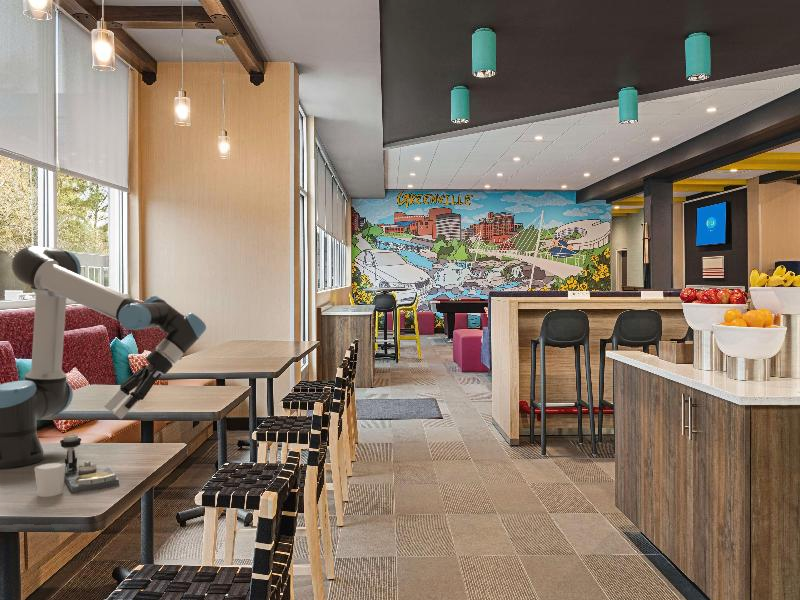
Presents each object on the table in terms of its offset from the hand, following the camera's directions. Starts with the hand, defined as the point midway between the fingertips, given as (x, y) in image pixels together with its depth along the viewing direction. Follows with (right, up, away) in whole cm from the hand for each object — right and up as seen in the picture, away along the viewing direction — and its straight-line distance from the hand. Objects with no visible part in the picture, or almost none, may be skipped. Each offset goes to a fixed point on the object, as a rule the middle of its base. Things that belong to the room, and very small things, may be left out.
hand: (111, 412), depth 185 cm
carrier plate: (+1, -16, -15) cm, 22 cm away
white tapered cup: (-5, -16, -24) cm, 29 cm away
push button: (-9, -16, -6) cm, 19 cm away
